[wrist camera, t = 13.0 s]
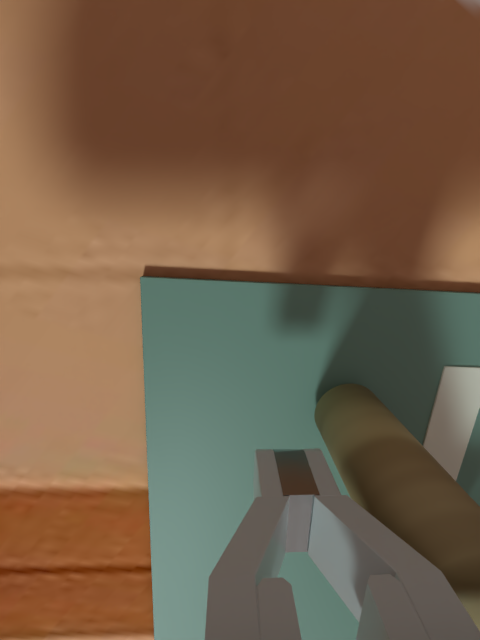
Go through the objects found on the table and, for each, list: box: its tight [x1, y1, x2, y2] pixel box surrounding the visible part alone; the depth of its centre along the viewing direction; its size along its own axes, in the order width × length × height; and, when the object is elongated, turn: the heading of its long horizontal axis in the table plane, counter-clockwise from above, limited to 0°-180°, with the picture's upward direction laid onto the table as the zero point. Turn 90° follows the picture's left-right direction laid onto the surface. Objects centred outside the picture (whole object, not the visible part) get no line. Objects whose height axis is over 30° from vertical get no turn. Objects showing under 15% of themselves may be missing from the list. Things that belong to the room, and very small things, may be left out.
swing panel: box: [314, 384, 480, 631], centre depth 10 cm, size 11×3×6 cm, turn 23°
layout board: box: [140, 276, 480, 640], centre depth 14 cm, size 24×23×1 cm
